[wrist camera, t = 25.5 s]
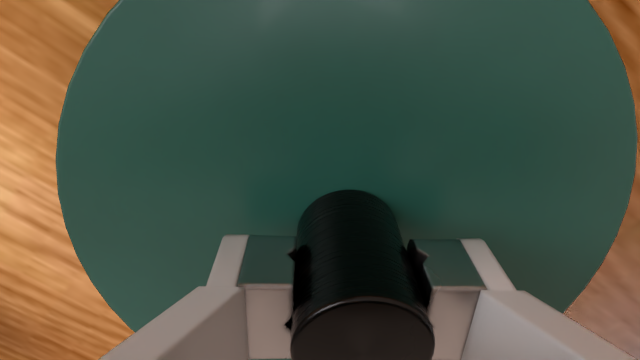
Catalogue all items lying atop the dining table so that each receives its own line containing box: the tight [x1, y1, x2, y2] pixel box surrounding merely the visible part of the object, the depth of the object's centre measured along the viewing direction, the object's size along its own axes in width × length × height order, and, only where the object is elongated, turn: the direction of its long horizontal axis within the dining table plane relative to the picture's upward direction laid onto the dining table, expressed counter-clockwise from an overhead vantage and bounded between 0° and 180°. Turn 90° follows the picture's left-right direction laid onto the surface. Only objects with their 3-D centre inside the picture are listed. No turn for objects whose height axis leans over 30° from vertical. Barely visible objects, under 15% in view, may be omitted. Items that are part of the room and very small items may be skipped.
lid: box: [56, 0, 638, 360], centre depth 9 cm, size 13×13×5 cm
